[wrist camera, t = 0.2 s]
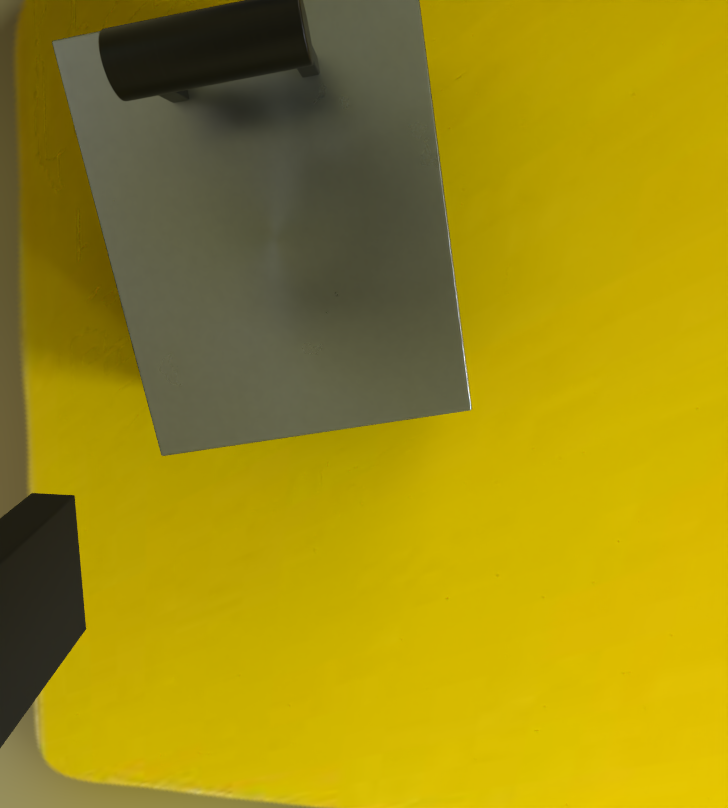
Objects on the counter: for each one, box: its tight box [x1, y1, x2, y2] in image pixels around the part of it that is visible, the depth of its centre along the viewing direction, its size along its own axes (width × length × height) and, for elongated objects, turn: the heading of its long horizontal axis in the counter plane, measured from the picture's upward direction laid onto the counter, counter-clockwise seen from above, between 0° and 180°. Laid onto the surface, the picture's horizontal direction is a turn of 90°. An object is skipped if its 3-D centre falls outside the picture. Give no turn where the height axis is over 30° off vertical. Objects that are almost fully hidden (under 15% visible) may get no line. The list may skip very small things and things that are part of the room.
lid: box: [52, 0, 472, 456], centre depth 24 cm, size 17×14×7 cm
